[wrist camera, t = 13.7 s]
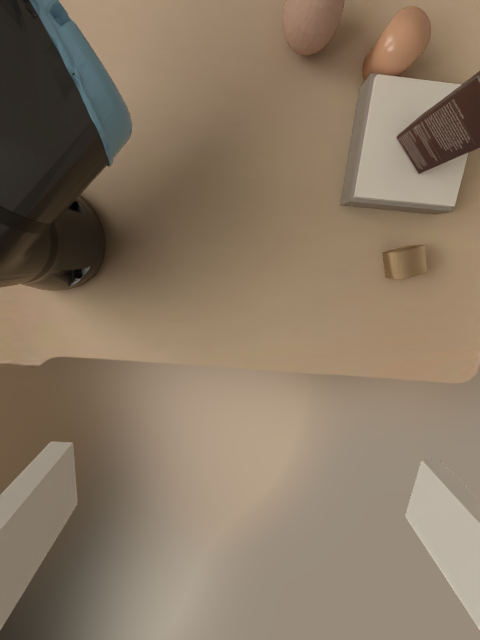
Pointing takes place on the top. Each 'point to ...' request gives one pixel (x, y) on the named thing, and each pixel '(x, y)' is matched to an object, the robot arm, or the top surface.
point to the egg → (311, 23)
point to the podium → (397, 149)
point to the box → (445, 128)
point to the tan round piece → (399, 43)
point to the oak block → (405, 262)
